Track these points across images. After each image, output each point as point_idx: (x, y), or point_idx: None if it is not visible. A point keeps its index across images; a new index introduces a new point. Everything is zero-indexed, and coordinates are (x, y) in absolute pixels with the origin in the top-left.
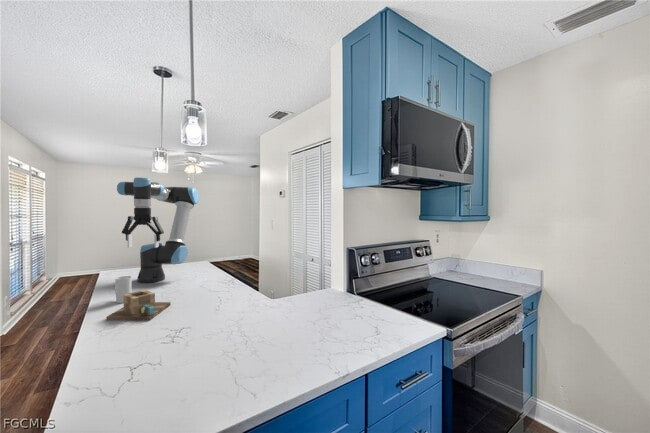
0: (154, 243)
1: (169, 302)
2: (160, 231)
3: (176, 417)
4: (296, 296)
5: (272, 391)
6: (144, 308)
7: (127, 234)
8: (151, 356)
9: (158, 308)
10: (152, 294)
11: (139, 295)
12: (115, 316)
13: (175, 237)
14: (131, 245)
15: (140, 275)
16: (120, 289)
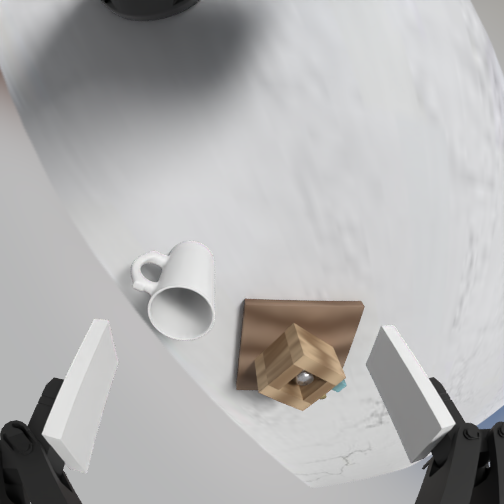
0: (380, 395)
1: (362, 309)
2: (479, 474)
3: (383, 471)
4: None
5: None
6: (325, 394)
7: (61, 469)
8: (359, 444)
9: (342, 348)
10: (340, 380)
11: (300, 376)
12: (257, 388)
13: None
14: (108, 341)
15: (113, 2)
16: (190, 312)
